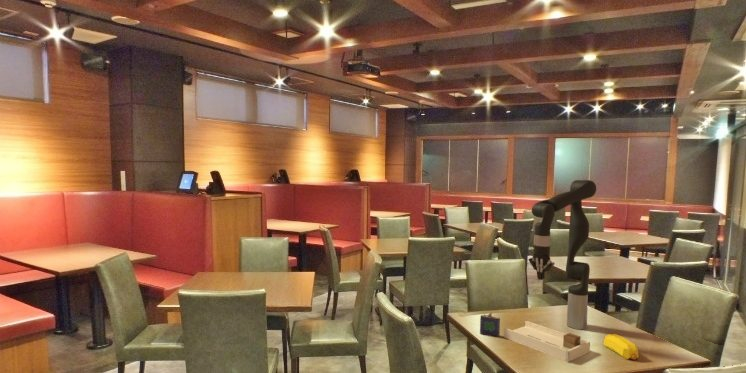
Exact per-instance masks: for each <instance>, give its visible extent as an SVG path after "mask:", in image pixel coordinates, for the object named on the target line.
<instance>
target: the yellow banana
mask: <svg viewBox="0 0 746 373" xmlns="http://www.w3.org/2000/svg"><path fill="white" fill-rule="evenodd" d="M603 345H604V346H605V348H606V349H609V350H611V351H613V352H615V353H616V354H617V355H619V356H621V357H622V358H623V359H625V360H629V359H631V360H637V359H639V347H638V346H637V345H636V344H635V343H633V342H631V341H630V340H628V339H627V338H626V337H624V336H622V335H619V334H617V333H613V334H609V333H608V334H607V335H605V337H604V340H603Z"/></svg>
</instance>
